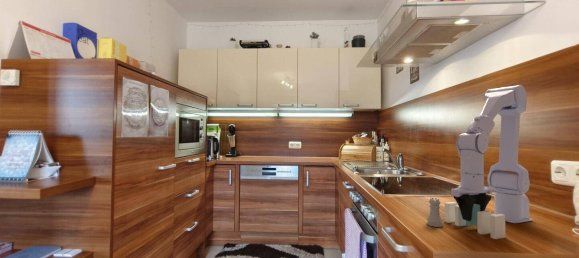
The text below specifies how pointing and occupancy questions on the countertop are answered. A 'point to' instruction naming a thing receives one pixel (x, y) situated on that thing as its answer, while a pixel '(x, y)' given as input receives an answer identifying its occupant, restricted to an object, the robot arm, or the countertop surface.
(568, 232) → the countertop surface
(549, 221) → the countertop surface
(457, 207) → the domino
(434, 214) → the rook chess piece
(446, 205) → the domino
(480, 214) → the domino
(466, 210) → the robot arm
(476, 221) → the domino
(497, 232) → the domino
